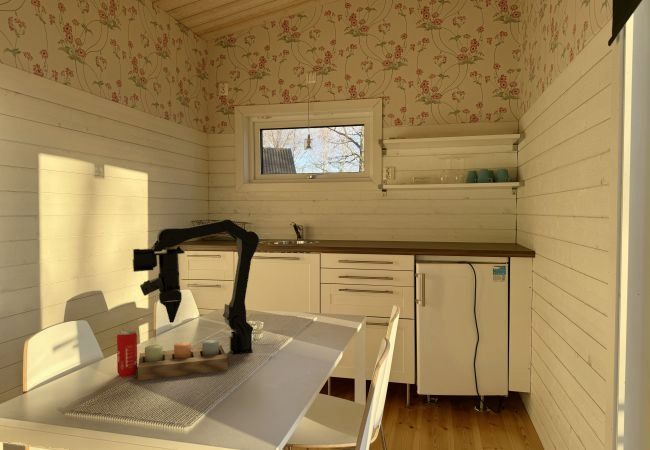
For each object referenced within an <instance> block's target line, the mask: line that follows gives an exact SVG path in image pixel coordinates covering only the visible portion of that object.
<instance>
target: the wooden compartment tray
mask: <svg viewBox="0 0 650 450" xmlns="http://www.w3.org/2000/svg"><path fill="white" fill-rule="evenodd" d="M228 364H229V362H228V357H227V355H226V352H225V350H224V348H223V346H222V345H219V355H213V356H204V357H203V356H202V346H201V347H193V348H192V347H191V358H184V359H174V349H171V350H163V361H155V362H145V352H142V353H139V357H138V363H137V380H138V381H143V380H153V379H162V378H163V379H164V378H170V377H171V378H172V377H178V376H179V377H180V376H187V375H188V376H189V375H196V374H204V373H206V374H207V373H216V372H222V371H223V372H224V371H228V370H229V369H228Z"/></svg>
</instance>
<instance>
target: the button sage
mask: <svg viewBox="0 0 650 450" xmlns="http://www.w3.org/2000/svg"><path fill="white" fill-rule="evenodd" d="M163 349H164V348H163V345H161V344H152V345H147V346H145V347H144V353H145V362H155V361H163V351H164V350H163Z"/></svg>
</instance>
